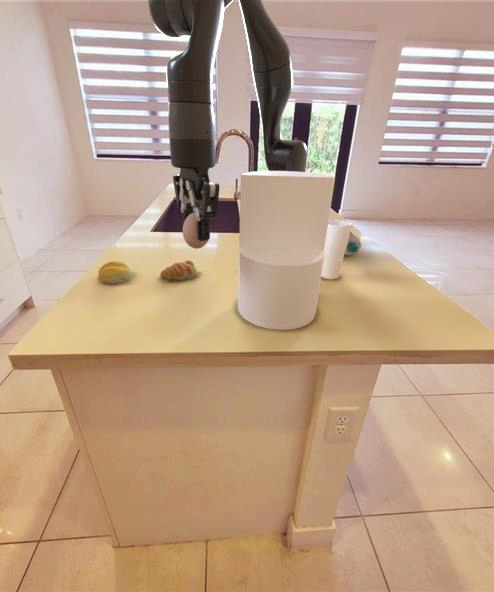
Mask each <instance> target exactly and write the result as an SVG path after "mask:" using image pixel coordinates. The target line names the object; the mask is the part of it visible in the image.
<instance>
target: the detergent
mask: <svg viewBox="0 0 494 592" xmlns="http://www.w3.org/2000/svg"><path fill="white" fill-rule="evenodd" d="M361 248H362V243H361V241H360V239H359V238H358V237H357V236H356V235H355V234H354V233H352V231H350V235H349V240H348V244H347V247H346V251H345V254H344V256H352V255H354V254H356V253H357V252H358V251H359V250H360V249H361Z"/></svg>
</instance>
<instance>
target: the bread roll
mask: <svg viewBox="0 0 494 592" xmlns="http://www.w3.org/2000/svg"><path fill="white" fill-rule="evenodd" d="M132 275H133V271H132V269H131V267H130V266H129V265H128V264H127V263H125V262H123V261H119V260H113V261H108V262H105V263H104V264H102V266H101V267H100V268H99V270H98V278H97V279H98V281H99V282H100V283H102V284H104V285H118V284H123V283H125V282H127V281H129V280H130V279H131V278H132Z"/></svg>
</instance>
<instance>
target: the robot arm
mask: <svg viewBox="0 0 494 592" xmlns="http://www.w3.org/2000/svg"><path fill="white" fill-rule="evenodd" d="M233 1H234V0H147V5H148V11H149V15H150V18H151V21H152V23H153V25H154V26H155V27H156V29H157V30H158V31H159V33H161V34H162V35H164V36H165V37H167V38H170V39H186V38H187V39H188V38H189V39H188V43H187V46H186V47H185V50H183V52H181V53H179V54H177V55H175V56H173V57H171V58H170V59H168V60H167V63H166V70H165V71H166V72H165V73H166V74H165V75H166V89H167V98H168V99H167V101H168V111H167V112H168V113H167V123H168V134H169V135H168V137H169V152H170V164H171V166H172V167H174V168H177V169H179V174H175V175H172V181H173V187H174V194H175V201H176V206H177V208H178V209H180V212H181V213H182V218H183V223H184V222H185V220H186V218H187V217H188V216H189V215H190V214H192V213H195V212H196V217H197V238H198V240H200V241H206V240H208V241H210V238H211V226H210V222H211V220H212V219H217V216H218V206H219V197H220V184H219V183H218V182H216V183H214V182H211V178H210V173H209V169H212V168H214V167H216V164H217V163H216V118H215V112H214V111H215V110H214V85H213V84H214V80H213V76H214V71H215V70H214V69H215V65H216V64H215V63H216V59H217V53H218V48H219V43H220V38H221V34H222V30H223V23H224V20H225V19H224V18H225V9H226V8H227V7H229V5H230V4H231V3H232V2H233ZM263 3H264V2H263V1H262V0H238V4H239V7H240V10H241V14H242V19H243V25H244V29H245V35H246V40H247V45H248V46H247V47H248V52H249V58H250V59H249V60H250V65H251V71H252V78H253V83H254V89H255V92H256V97H257V104H258V109H259V116H260V122H261V131H262V142H263V143H262V144H263V152H264V161H265V165H266V169H267V171H295V172H306V168H307V162H308V161H307V160H308V148H307V145H306V143H305V142H304V141H302V140H297V139H296V140H295V139H283V138H282V130H281V122H282V117H283V114H284V111H285V109H286V107H287V104H288V102H289V99H290V97H291V93H292V91H293V88H294V87H293V86H294V75H293V64H292V54H291V49H290V48H289V47H290V46H289V44H288V43H287V41H286V39H285V38H284V36H283V34H282V33H281V32H280V30H279V29H278V27H277V26H276V25H275V23H274V21H273V20H272V18H271V17H270V16H269V14H268V12H267V10H266V8H265V6H264V4H263Z"/></svg>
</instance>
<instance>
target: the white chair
mask: <svg viewBox="0 0 494 592" xmlns="http://www.w3.org/2000/svg"><path fill="white" fill-rule="evenodd" d="M335 182H336V177H335V176H332V175H329V174H323V173H315V172H306V171H305V172H295V171H269V170H258V171H257V170H256V171H255V170H254V171H248V172H243V173H241V174H240V188H239V189H240V192H239V237H238V239H239V241H238V277H237V278H238V281H237V310H238V313H239V314H240V316H241V317H242V318H243V319H244V320H246V321H247V322H248V323H250V324H253V325H255V326H256V327H260V328H263V329H269V330H278V331H283V330H287V331H288V330H293V329H294V330H295V329H299V328H302V327H304V326H307V325H309V324H310V323H311V322H312V321H313V320H314V318H315V316H316V312H317V306H318V301H319V300H318V299H319V293H320V286H321V280H322V277H321V274H322V268H323V262H324V246H325V240H326V233H327V227H328V220H330V214H331V207H332V202H333V201H332V200H333V195H334V194H333V193H334V187H335Z"/></svg>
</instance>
